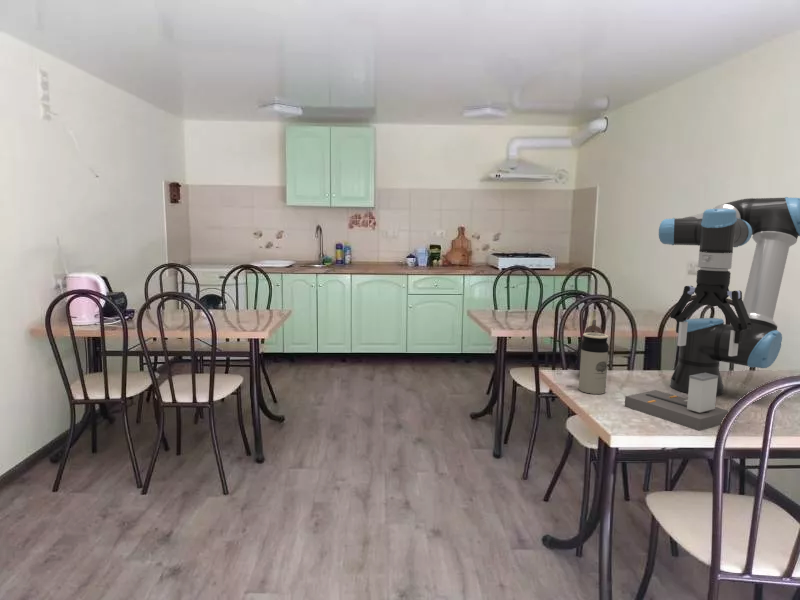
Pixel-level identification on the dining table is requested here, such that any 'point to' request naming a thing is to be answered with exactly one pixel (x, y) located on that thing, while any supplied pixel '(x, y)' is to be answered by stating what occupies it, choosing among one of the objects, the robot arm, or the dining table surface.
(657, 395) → the console
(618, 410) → the dining table surface
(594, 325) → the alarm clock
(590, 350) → the travel mug
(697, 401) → the fader
